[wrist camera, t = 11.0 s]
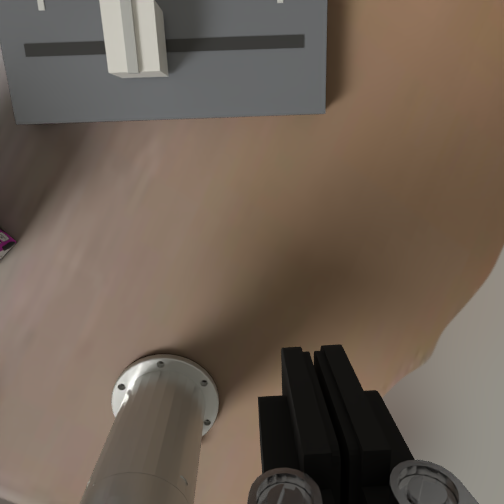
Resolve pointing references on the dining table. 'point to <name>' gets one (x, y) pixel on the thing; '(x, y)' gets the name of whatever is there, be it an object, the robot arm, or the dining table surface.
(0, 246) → the candy bar box
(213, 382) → the robot arm
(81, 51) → the fader panel
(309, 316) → the dining table surface
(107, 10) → the fader knob
